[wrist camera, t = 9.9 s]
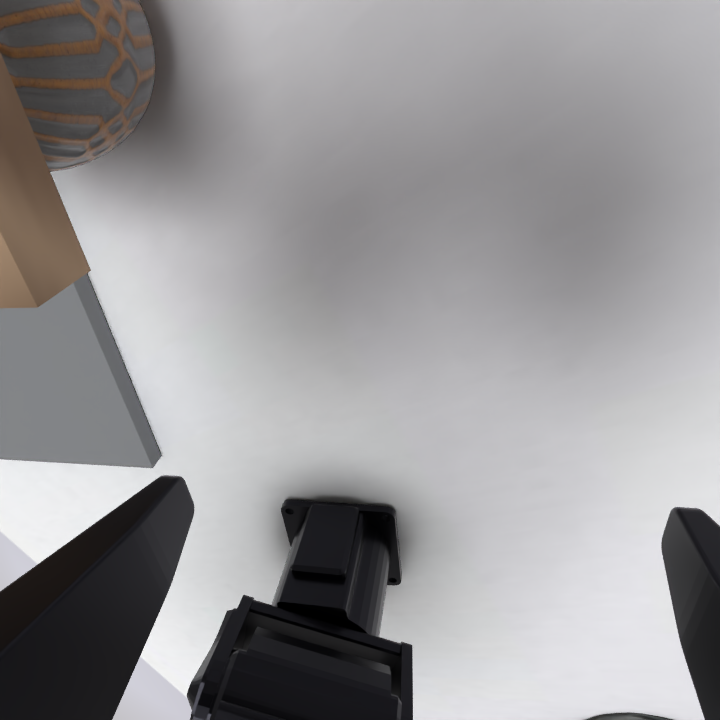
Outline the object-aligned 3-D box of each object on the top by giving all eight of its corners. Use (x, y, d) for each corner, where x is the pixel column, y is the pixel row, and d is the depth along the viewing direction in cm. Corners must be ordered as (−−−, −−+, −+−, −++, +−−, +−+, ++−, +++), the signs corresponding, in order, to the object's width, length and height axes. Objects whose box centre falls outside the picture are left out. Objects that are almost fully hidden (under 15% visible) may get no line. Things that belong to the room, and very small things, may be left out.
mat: (161, 455, 30) (152, 468, 29) (-15, 446, 33) (-28, 457, 32) (42, 165, 22) (25, 171, 21) (-186, 181, 24) (-209, 187, 23)
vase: (68, 163, 21) (-136, 243, 14) (-43, -43, 18) (-384, -74, 11) (217, 116, 19) (67, 183, 12) (124, -125, 16) (-161, -230, 9)
